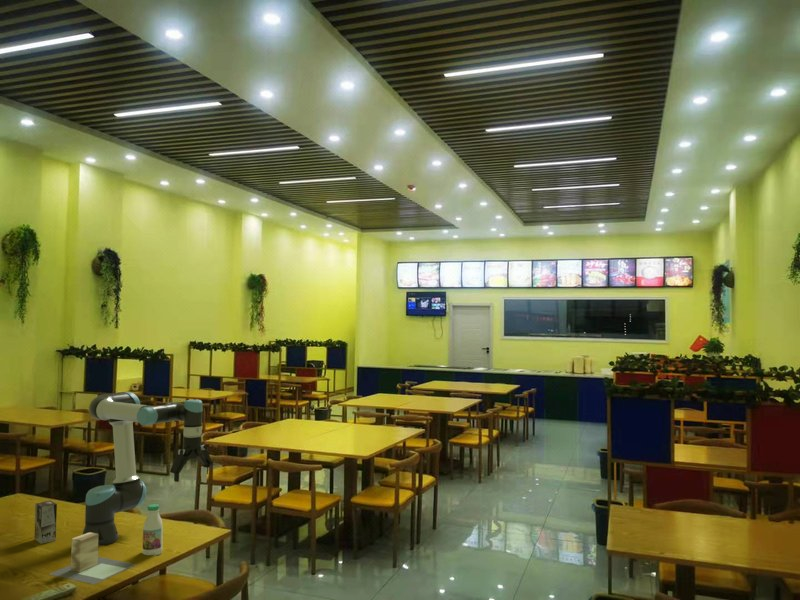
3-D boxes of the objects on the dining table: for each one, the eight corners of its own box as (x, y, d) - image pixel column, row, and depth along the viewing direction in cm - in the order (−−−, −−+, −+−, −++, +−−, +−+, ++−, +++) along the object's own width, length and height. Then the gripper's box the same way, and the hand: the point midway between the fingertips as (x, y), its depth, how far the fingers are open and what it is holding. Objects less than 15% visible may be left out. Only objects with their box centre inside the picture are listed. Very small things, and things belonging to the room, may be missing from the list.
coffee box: (56, 540, 267) (57, 503, 267) (40, 544, 262) (41, 507, 263) (49, 535, 273) (50, 499, 274) (33, 539, 268) (34, 502, 269)
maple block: (70, 570, 232) (71, 538, 232) (88, 562, 239) (89, 532, 240) (80, 572, 230) (80, 540, 230) (97, 564, 237) (98, 533, 238)
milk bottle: (146, 550, 255) (147, 502, 256) (164, 549, 255) (165, 502, 256) (139, 557, 247) (140, 508, 248) (158, 556, 248) (159, 507, 249)
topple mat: (48, 576, 228) (48, 574, 228) (93, 557, 246) (93, 555, 246) (94, 586, 219) (94, 584, 219) (137, 566, 237) (137, 564, 237)
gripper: (173, 441, 246) (172, 493, 245) (221, 432, 267) (219, 480, 266) (162, 439, 250) (160, 490, 249) (209, 430, 271) (208, 478, 270)
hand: (191, 485), depth 258 cm, fingers open, 13 cm apart
